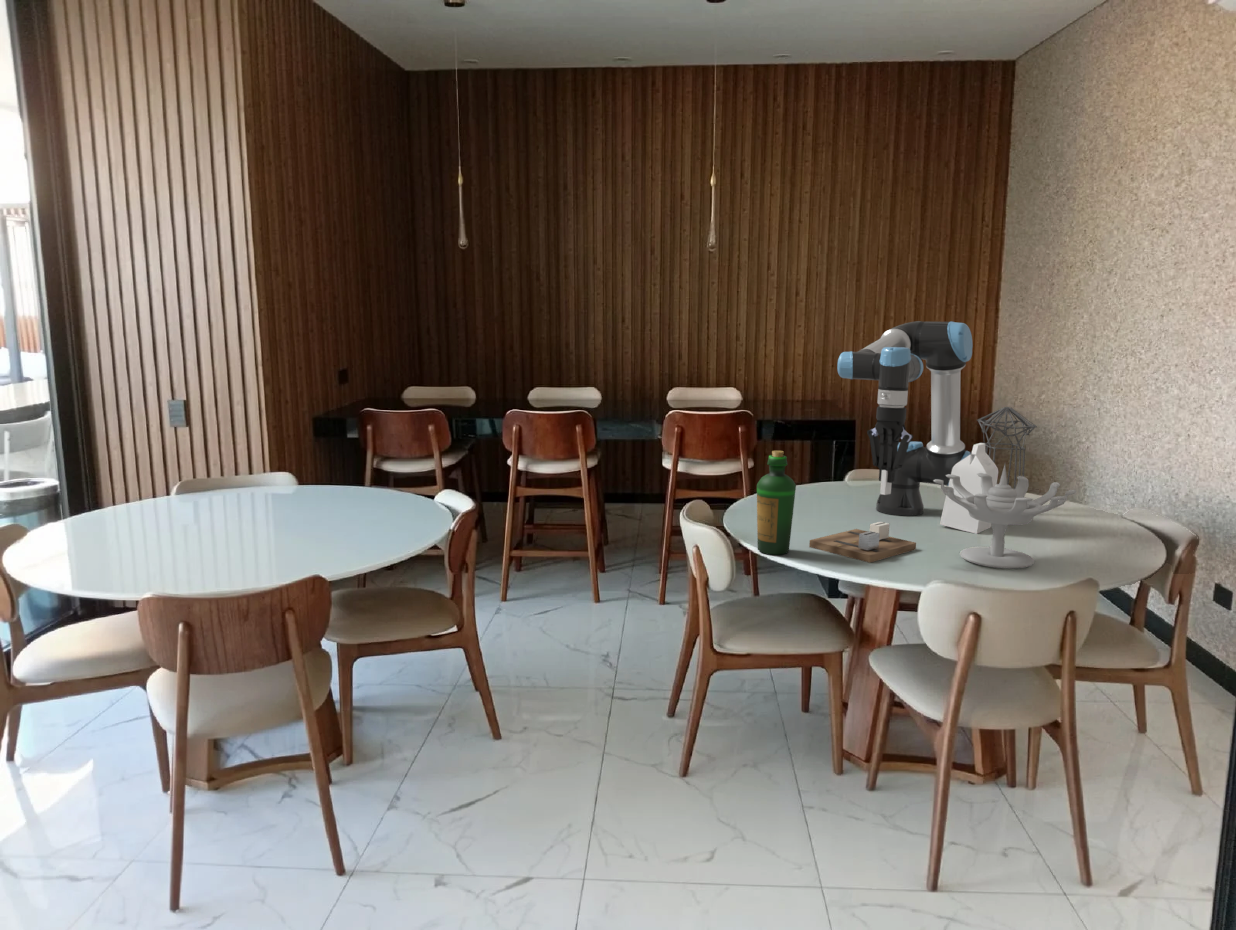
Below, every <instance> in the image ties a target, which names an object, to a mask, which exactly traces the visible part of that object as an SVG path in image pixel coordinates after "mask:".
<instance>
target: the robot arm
mask: <svg viewBox="0 0 1236 930" xmlns="http://www.w3.org/2000/svg"><path fill="white" fill-rule="evenodd" d="M973 347H974V346H973V336H972V332H971V329H970V327H969V326H968V325H967V324H966V323H964V322H955V321H923V320H921V321H920V320H917V321H911V322H905V323H903V324H899V325H897V326H893V327H892V328H889V329H888V330H886V331H884V332H883V333H882V335H881V336H880V338H879V339H877V340H876V341H873V342H872V343H870V344H868V345H867V346H865V347H864V348H861V349H859V350H858V351H852V350H851V351H842V352H841V353H840V355H839V357H838V359H837V365H836V366H837V373H838V375H839V377H840V378H842V379H850V380H867V381H878V386H877V387H878V389H877V390H878V391H877V400H876V401H877V402H876V403H877V404H878V406H877V407H876V413H875V414H876V415H875V418H876V424H875V425H874V426H875V427H874V428H871V429H868V430H867V431H866V433H867V436H868V438H869V444H870V450H871V457H872V458H871V460H872V465H873V466H874V467H876V468H878V470H879V471H878V481H879V482H880V491H879V496H878V499H877V501H876V508H875V509H876V511H878V512H880V513H883V514H888V515H894V516H895V515H896V516H907V517H908V516H920V515H922V514H924V503H923V498H922V495H921V491H920V485H921V484H922V483H924V484H931V485H938V486H941V484H938V483H935V482H934V481H933V480H935V479H939V480H943V485H944V486H945V487H948V485H949V481H950V478H948V477H946V475H948V474H951V472H952V468H953V467H954V465H955V464H957V463H958V462H960V461H961V460H963V459H964V458H966V457H967V456H969V455H970V454H971V453H972V452H971V451H968V450H966V444H965V443H964V442H963V441H962V440H961V371H962V370H963V369H964V368H965V367H966V365H967V362H969V361H970V360H971V358H972V356H973ZM922 360H925V367H926V369H928V370H929V372H930V386H931V387H930V392H931V393H930V395H931V396H930V397H931V398H930V399H931V400H930V401H931V404H930V405H931V406H930V407H931V411H930V416H931V417H930V419H931V420H930V421H931V423H930V424H931V431H930V432H931V433H930V434H931V440H930V441H929V442H927V444H926V446H925V447H924V444H923V442H922V441H913V438H914V435H913V434H910V433H909V432H907V430H906V425H905V423H906V419H907V408H906V407H905V406H907V405H908V394H909V383H911V382H914V381H916V380H918V379H919V378H920V377H921V375H922V373H924V372H923V371H924V363H923V361H922ZM920 483H921V484H920Z"/></svg>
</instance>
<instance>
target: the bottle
mask: <svg viewBox="0 0 1236 930" xmlns="http://www.w3.org/2000/svg"><path fill="white" fill-rule="evenodd" d="M784 453H785V452H784V451H783V450H772V451H771V454H769V455H768V459H767V463H766V464H767V465H768V468H769V469H768V470H769V473H766V474H764V475H763V476H762V477H760V479H759V480H758V482H757V484H756V517H757V518H756V522H757V524H756V527H757V533H756V534H757V536H756V537H757V550H758V551H759V552H761V553H762V554H765V555H770V556H771V555H772V556H780V555H785V554H787V553H789V551H790V545H791V544H790V543H791V535H792V524H793V517H794V508H795V498H796V490H797V485H796V483H795V481H794V480H793V478H792V477H790V476H789V475H787V474H785V472H786V471H785V470H786V466H788V461H787V460H788V459H787V458H788V457H787V456H786V455H784Z"/></svg>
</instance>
